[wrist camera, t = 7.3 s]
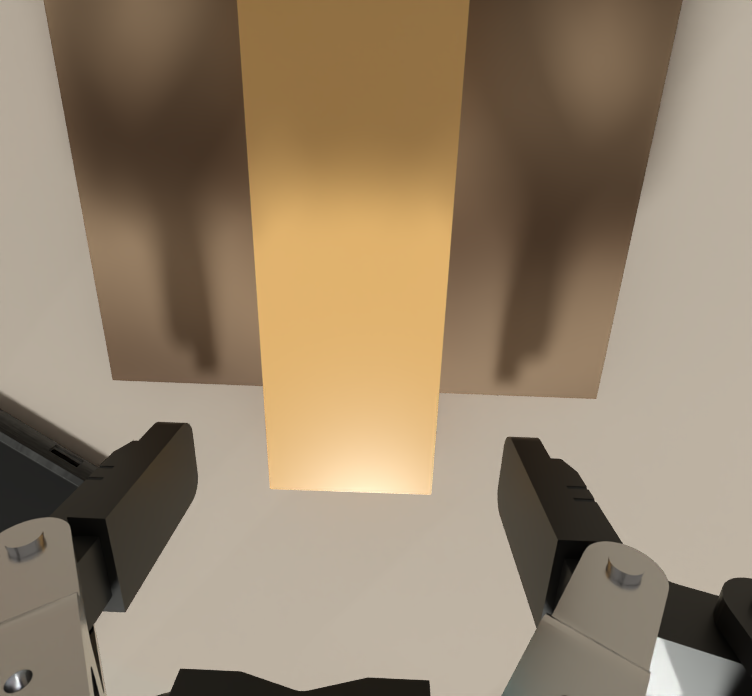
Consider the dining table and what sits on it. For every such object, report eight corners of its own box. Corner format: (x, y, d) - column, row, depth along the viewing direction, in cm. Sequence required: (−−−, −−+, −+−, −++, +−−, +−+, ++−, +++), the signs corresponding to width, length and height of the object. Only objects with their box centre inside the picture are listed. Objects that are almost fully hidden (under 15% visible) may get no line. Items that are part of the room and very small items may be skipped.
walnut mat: (51, -81, 10) (25, -101, 10) (678, -65, 10) (701, -84, 10) (127, 369, 14) (112, 379, 14) (585, 387, 14) (596, 398, 13)
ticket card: (249, -56, 10) (231, -85, 9) (466, -52, 10) (475, -81, 9) (279, 464, 14) (269, 489, 13) (427, 469, 14) (431, 494, 13)
